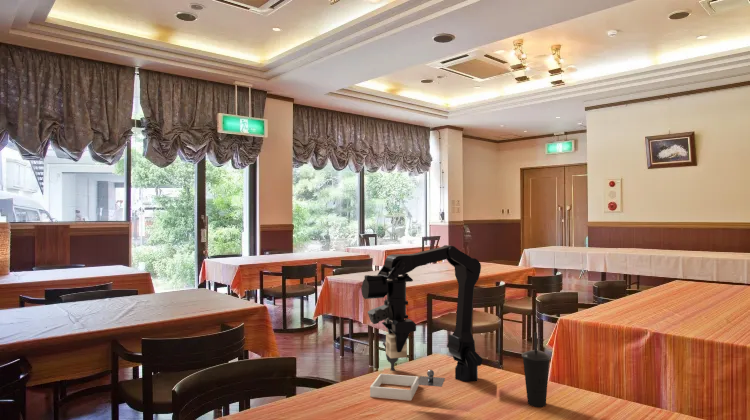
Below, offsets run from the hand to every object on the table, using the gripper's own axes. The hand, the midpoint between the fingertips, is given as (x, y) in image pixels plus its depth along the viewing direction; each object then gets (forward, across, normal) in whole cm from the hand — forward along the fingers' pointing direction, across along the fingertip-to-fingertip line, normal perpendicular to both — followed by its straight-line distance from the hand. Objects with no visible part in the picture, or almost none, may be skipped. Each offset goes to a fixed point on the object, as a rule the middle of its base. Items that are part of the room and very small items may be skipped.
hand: (396, 349), depth 142 cm
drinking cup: (+13, +18, +36) cm, 42 cm away
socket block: (+2, 0, 0) cm, 2 cm away
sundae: (+13, -19, +5) cm, 23 cm away
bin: (+13, 0, 0) cm, 13 cm away
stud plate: (+13, -5, +13) cm, 19 cm away
